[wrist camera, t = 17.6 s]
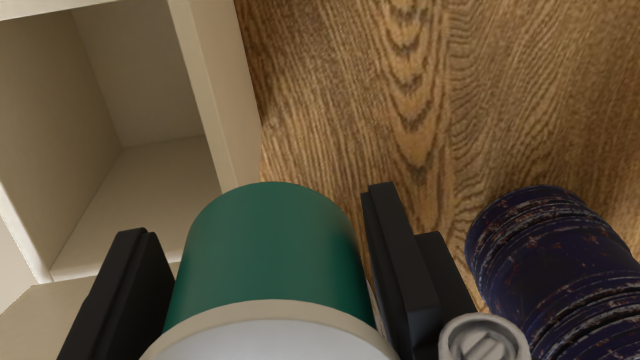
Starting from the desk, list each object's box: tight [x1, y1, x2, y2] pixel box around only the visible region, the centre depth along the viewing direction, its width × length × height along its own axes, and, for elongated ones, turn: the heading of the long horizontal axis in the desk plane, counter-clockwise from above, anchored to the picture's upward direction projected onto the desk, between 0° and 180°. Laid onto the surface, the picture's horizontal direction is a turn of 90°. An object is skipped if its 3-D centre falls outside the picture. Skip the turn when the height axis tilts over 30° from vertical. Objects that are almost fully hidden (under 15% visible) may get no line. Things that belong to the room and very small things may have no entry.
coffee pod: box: [139, 182, 401, 360], centre depth 10 cm, size 5×5×4 cm
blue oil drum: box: [464, 185, 640, 360], centre depth 32 cm, size 10×10×15 cm
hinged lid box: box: [0, 0, 262, 284], centre depth 25 cm, size 11×9×13 cm
